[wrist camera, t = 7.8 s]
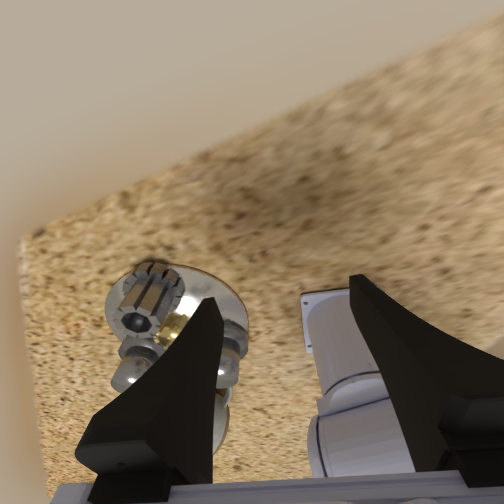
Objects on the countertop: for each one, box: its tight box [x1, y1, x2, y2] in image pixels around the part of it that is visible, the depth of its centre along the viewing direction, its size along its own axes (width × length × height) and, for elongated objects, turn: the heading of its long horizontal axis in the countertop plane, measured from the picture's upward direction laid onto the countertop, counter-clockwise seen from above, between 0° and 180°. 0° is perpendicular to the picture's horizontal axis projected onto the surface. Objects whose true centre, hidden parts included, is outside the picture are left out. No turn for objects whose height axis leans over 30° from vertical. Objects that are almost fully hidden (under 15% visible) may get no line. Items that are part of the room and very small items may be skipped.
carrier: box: [105, 264, 248, 393], centre depth 26 cm, size 16×16×6 cm
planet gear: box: [113, 262, 185, 338], centre depth 23 cm, size 6×6×5 cm
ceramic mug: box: [213, 387, 232, 455], centre depth 32 cm, size 11×8×8 cm
